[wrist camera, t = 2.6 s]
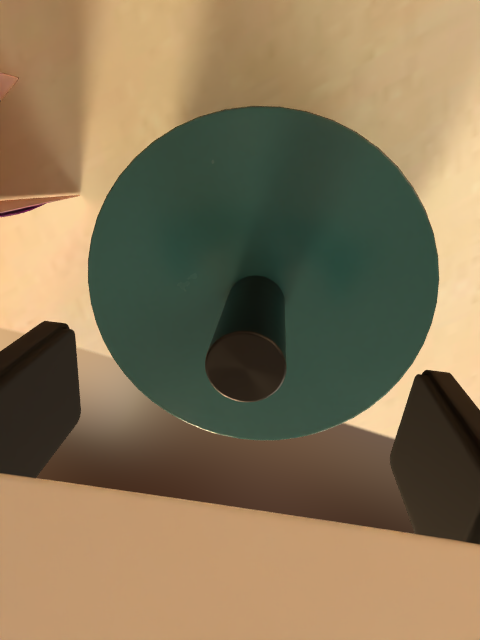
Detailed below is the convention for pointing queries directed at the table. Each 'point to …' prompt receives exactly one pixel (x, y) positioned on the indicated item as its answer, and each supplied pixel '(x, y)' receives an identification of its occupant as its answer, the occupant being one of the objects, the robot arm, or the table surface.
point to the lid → (263, 273)
